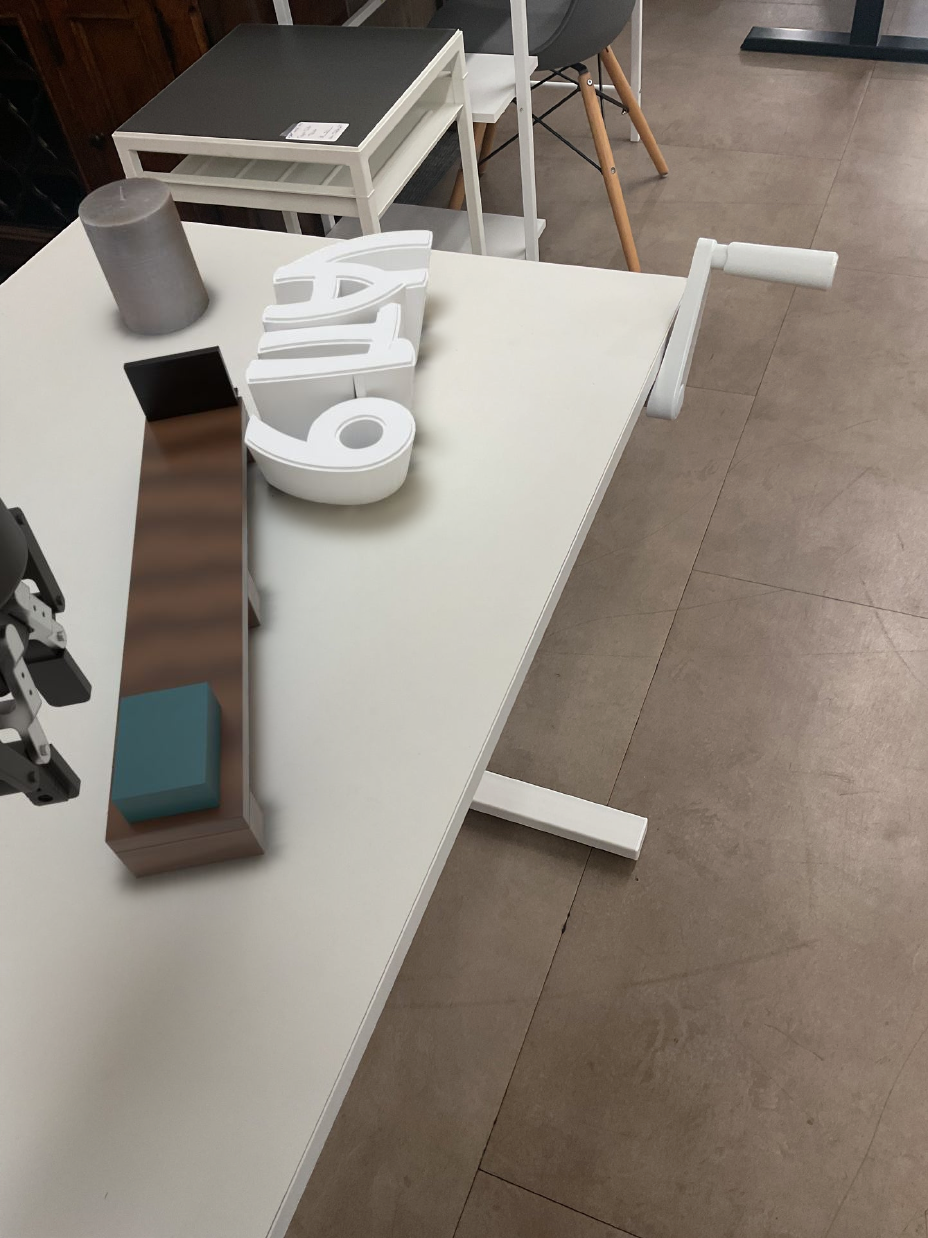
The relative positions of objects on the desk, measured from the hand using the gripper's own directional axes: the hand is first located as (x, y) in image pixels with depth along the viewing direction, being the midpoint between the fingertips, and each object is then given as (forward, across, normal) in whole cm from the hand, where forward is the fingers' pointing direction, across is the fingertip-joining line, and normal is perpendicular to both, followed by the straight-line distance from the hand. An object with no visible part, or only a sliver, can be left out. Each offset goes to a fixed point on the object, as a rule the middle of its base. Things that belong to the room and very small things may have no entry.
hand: (66, 744), depth 50 cm
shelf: (+21, -26, 0) cm, 33 cm away
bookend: (+15, -46, 0) cm, 49 cm away
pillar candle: (+22, -73, -6) cm, 76 cm away
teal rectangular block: (+15, -8, 0) cm, 18 cm away
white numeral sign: (+22, -50, +15) cm, 57 cm away
